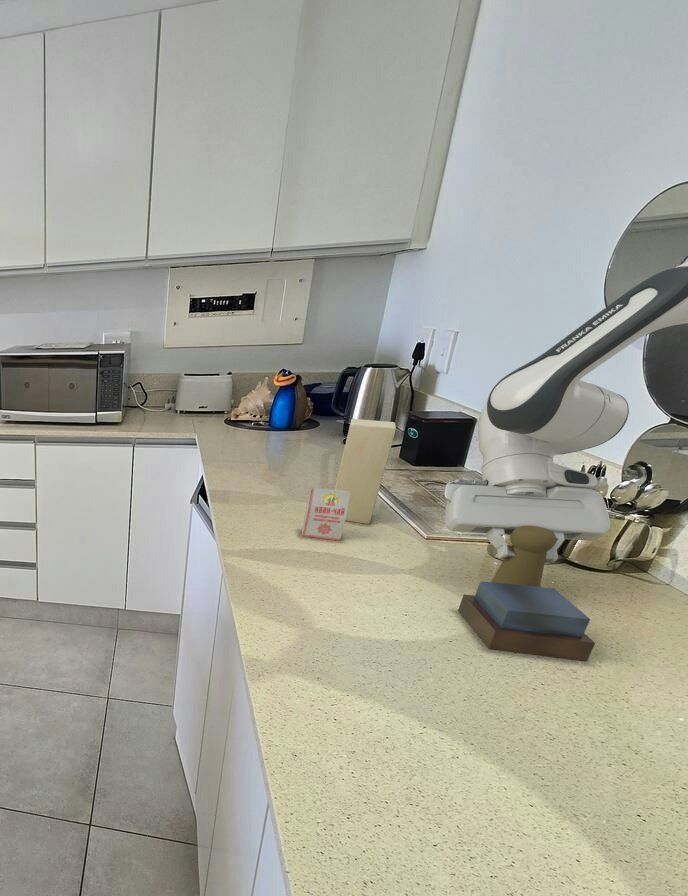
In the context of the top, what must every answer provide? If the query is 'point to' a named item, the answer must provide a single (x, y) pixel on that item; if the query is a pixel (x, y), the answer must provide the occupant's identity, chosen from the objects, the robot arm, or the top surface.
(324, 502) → the tea bag
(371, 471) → the cream tall block
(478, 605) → the block stack
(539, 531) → the cork
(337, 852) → the top surface
